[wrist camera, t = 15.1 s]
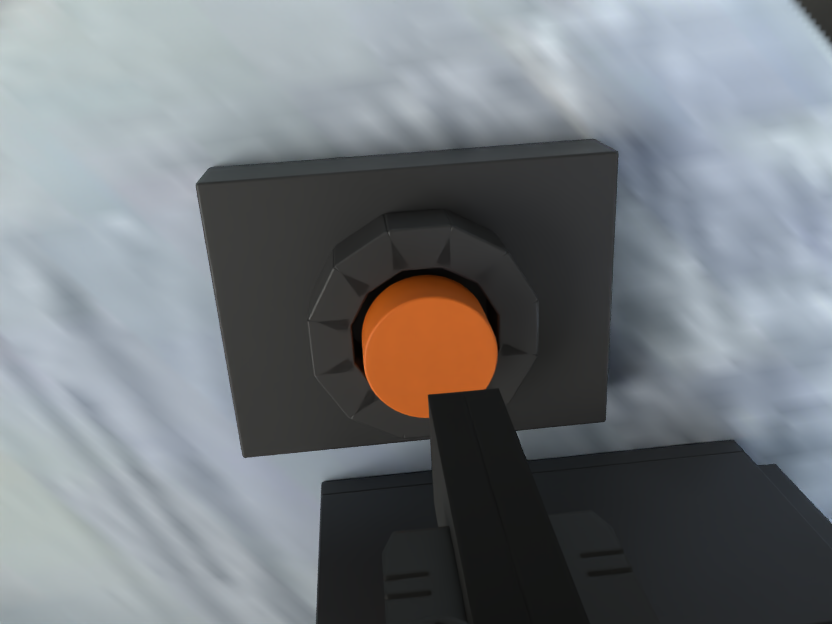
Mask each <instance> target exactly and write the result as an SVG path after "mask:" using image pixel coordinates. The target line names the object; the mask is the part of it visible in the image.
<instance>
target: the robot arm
mask: <svg viewBox="0 0 832 624" xmlns="http://www.w3.org/2000/svg"><path fill="white" fill-rule="evenodd" d="M428 407H429V424H430V441H431V458H432V476H433V493H434V505H435V511H436V517H437V523H438V527H434V528H424V529H414V530H404V531H394V532H392V534H391V536H390V538H389V540H388V542H387V544H386V546H385V548H384V550H383V552H382V564H383V580H384V581H383V582H384V598H385V616H386V624H661V623H660V621H659V619H658V617H657V615H656V613H655V611H654V609H653V607H652V605H651V603H650V601H649V599H648V597H647V595H646V593H645V591H644V589H643V587H642V585H641V583H640V581H639V579H638V577H637V575H636V573H635V572H633V568H632V565H631V563H630V561H629V559H628V557H627V555H626V554H624V550H623V548H622V546H621V544H620V542H619V540H618V538H617V536H616V534H615V532H614V530H613V528H612V527H611V526H610V525H609V524H608V523H606V522H605V521H604V520H603V519H602V518H601V517H599V516H598V515H597V514H596V513H595V512H593V511H592V510H584V511H574V512H564V513H554V514H547V511H546V509H545V506H544V503H543V501H542V498H541V496H540V493H539V491H538V488H537V485H536V483H535V480H534V478H533V475H532V473H531V470H530V467H529V465H528V462H527V460H526V457H525V455H524V452H523V449H522V447H521V444H520V442H519V439H518V436H517V434H516V431H515V429H514V426H513V424H512V421H511V418H510V416H509V413H508V411H507V408H506V406H505V403H504V400H503V398H502V395H501V393H500V390H499V388H495V389H484V390H473V391H462V392H451V393H440V394H429V395H428Z"/></svg>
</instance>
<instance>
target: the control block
mask: <svg viewBox="0 0 832 624" xmlns="http://www.w3.org/2000/svg"><path fill="white" fill-rule="evenodd" d="M617 175H618V151H616V150H614V149H612V148H610V147H608V146H607V145H605V144H603V143H601V142H599V141H597V140H595V139H586V140H573V141H559V142H546V143H533V144H519V145H506V146H493V147H479V148H466V149H453V150H439V151H426V152H413V153H399V154H386V155H373V156H359V157H346V158H333V159H319V160H306V161H293V162H279V163H266V164H253V165H239V166H226V167H213V168H209V169H208V170H207V171H206V172H205V173H204V175H203V176H202V177H201V178H200V180H199V181H198V182H197V183H196V191H197V197H198V202H199V208H200V214H201V220H202V225H203V231H204V237H205V243H206V249H207V254H208V260H209V266H210V272H211V277H212V283H213V289H214V295H215V300H216V306H217V312H218V318H219V323H220V329H221V335H222V341H223V347H224V352H225V358H226V364H227V370H228V375H229V381H230V387H231V393H232V398H233V404H234V410H235V416H236V421H237V427H238V433H239V439H240V445H241V450H242V455H243V457H244V458H247V457H257V456H267V455H277V454H287V453H297V452H307V451H317V450H327V449H338V448H348V447H358V446H368V445H378V444H388V443H398V442H408V441H418V440H428V439H430V424H429V418H419V417H413V416H409V415H406V414H402V413H400V412H398V411H396V410H394V409H392V408H391V407H389V406H387V405H386V404H385V403H384V402H383V401H381V400H380V399H379V398H378V396H377V395H376V394H375V393H374V391H373V390H372V389H371V387H370V385H369V383H368V381H367V378H366V375H365V371H364V364H363V348H362V327H363V322H364V318H365V316H366V313H367V311H368V309H369V307H370V306H371V304H372V302H373V301H374V300H375V299H376V297H377V296H378V295H379V294H380V293H381V292H382V291H384V290H385V289H386V288H388V287H389V286H391V285H392V284H394V283H396V282H398V281H400V280H403V279H405V278H409V277H412V276H418V275H436V276H442V277H446V278H449V279H452V280H454V281H456V282H458V283H460V284H462V285H463V286H464V287H466V288H467V289H468V290H469V291H470V292H471V293H472V294H473V295H474V296H475V297H476V298H477V300H478V301H479V303H480V305H481V306H482V308H483V310H484V313H485V315H486V317H487V319H488V321H489V323H490V325H491V328H492V330H493V332H494V335H495V337H496V342H497V348H498V360H497V365H496V370H495V372H494V375H493V377H492V379H491V381H490V383H489V385H488V386H487V388H486V389H495V388H499V390H500V393H501V395H502V398H503V400H504V403H505V406H506V408H507V411H508V413H509V416H510V418H511V421H512V424H513V426H514V429H515V431H518V430H528V429H538V428H548V427H558V426H568V425H578V424H588V423H598V422H605V420H606V404H607V383H608V362H609V341H610V320H611V300H612V279H613V258H614V237H615V216H616V196H617Z"/></svg>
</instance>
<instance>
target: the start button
mask: <svg viewBox="0 0 832 624" xmlns="http://www.w3.org/2000/svg"><path fill="white" fill-rule="evenodd" d="M362 348H363V364H364V371H365V375H366V378H367V381H368V383H369V385H370V387H371V389H372V390H373V391H374V393H375V394H376V395H377V396H378V398H379V399H380V400H381V401H383V402H384V403H385V404H386V405H387V406H389V407H391V408H392V409H394V410H396V411H398V412H400V413H402V414H406V415H409V416H413V417H419V418H429V407H428V395H429V394H440V393H451V392H462V391H473V390H484V389H486V388H487V386H488V385H489V383H490V381H491V379H492V377H493V375H494V372H495V370H496V365H497V360H498V348H497V342H496V337H495V335H494V332H493V330H492V328H491V325H490V323H489V321H488V319H487V317H486V315H485V313H484V310H483V308H482V306H481V305H480V303H479V301H478V300H477V298H476V297H475V296H474V295H473V294H472V293H471V292H470V291H469V290H468V289H467V288H466V287H464V286H463V285H462V284H460V283H458V282H456V281H454V280H452V279H449V278H446V277H442V276H436V275H418V276H412V277H409V278H405V279H403V280H400V281H398V282H396V283H394V284H392V285H391V286H389V287H388V288H386V289H385V290H384V291H382V292H381V293H380V294H379V295H378V296H377V297H376V299H375V300H374V301H373V302H372V304H371V306H370V307H369V309H368V311H367V313H366V316H365V318H364V322H363V327H362Z"/></svg>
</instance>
